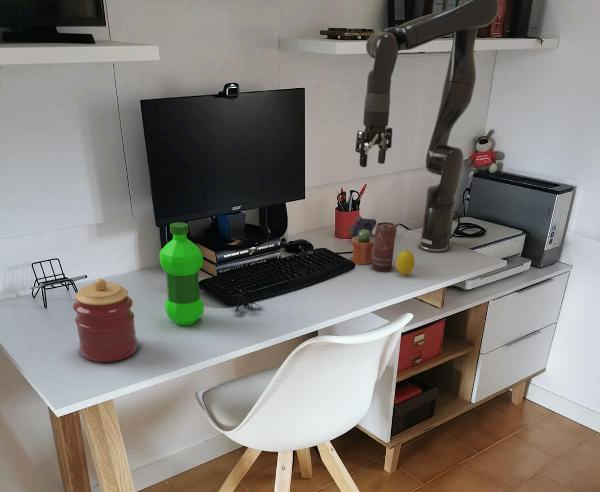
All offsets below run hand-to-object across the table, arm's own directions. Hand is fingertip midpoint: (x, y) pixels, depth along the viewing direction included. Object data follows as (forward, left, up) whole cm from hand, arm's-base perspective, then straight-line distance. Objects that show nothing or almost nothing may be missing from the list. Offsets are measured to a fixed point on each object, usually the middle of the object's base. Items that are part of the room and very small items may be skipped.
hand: (372, 165), depth 204 cm
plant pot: (+7, +5, -28) cm, 29 cm away
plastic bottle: (+77, +6, -28) cm, 82 cm away
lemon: (+7, +22, -28) cm, 37 cm away
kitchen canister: (+100, +8, -28) cm, 104 cm away
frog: (-10, -10, -28) cm, 32 cm away
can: (+8, +14, -28) cm, 32 cm away
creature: (+61, +11, -28) cm, 68 cm away
